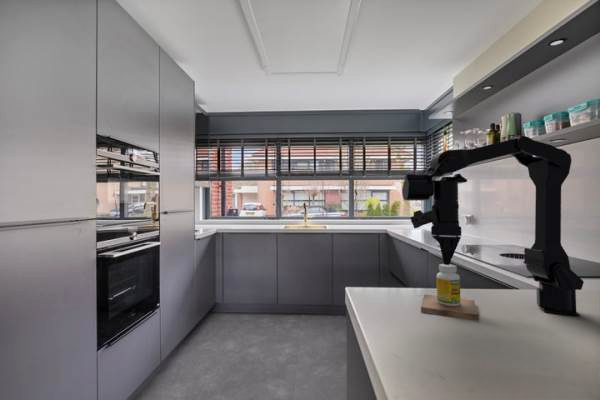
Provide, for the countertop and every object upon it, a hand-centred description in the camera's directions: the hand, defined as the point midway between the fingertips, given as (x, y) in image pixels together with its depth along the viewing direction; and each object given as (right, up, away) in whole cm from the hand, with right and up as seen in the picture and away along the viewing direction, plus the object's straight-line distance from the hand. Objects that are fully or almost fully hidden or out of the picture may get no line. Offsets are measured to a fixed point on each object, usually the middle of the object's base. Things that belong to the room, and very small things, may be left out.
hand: (446, 261), depth 74 cm
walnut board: (0, -12, -1) cm, 12 cm away
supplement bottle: (0, -11, 0) cm, 11 cm away
